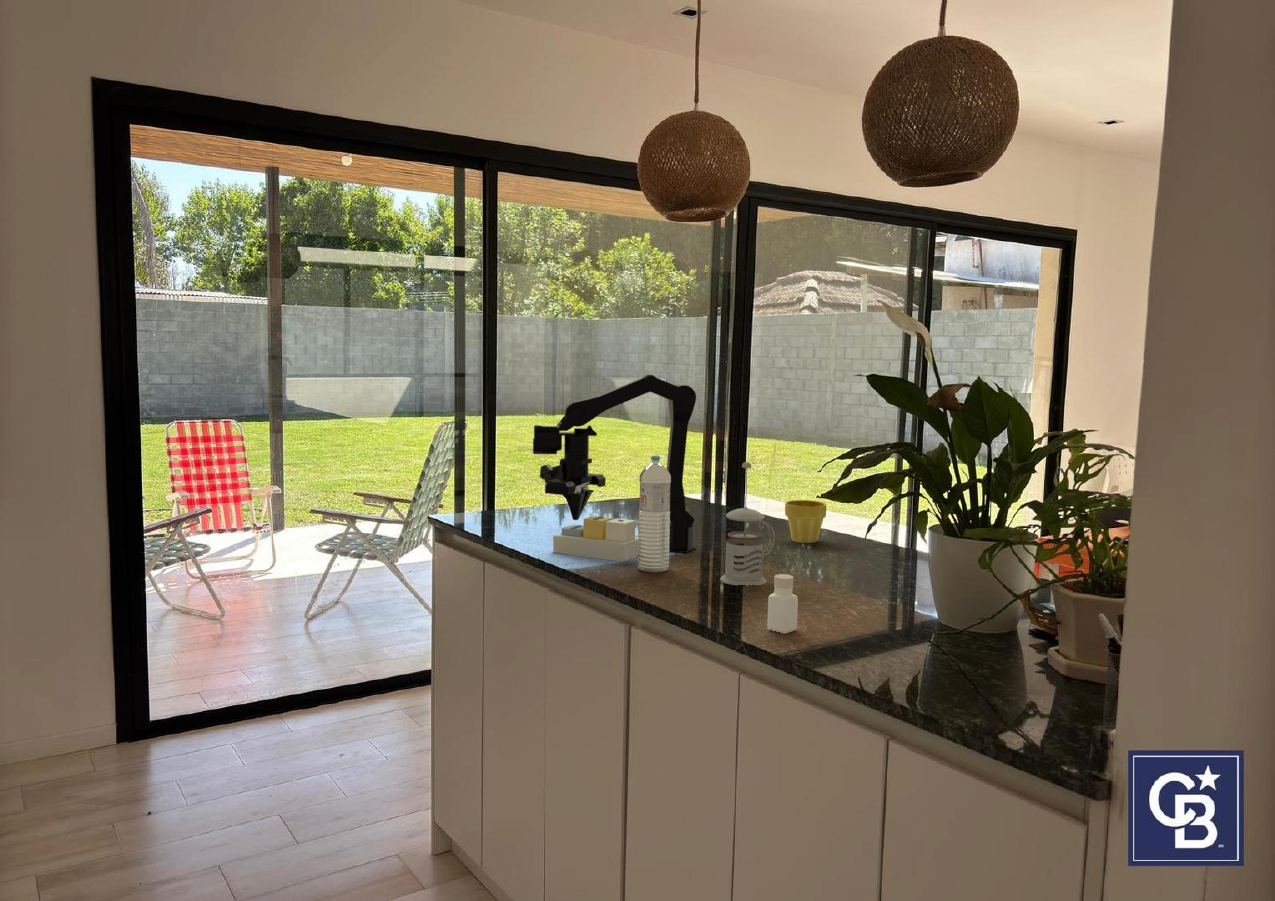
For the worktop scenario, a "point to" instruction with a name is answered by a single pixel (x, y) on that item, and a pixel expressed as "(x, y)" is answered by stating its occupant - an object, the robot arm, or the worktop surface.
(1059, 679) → the worktop surface
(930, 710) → the worktop surface
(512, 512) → the worktop surface
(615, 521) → the cream tile
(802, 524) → the plant pot
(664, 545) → the water bottle
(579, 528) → the slate tile
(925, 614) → the worktop surface
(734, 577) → the french press
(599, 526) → the mustard tile
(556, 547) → the panel
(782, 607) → the white pill bottle
